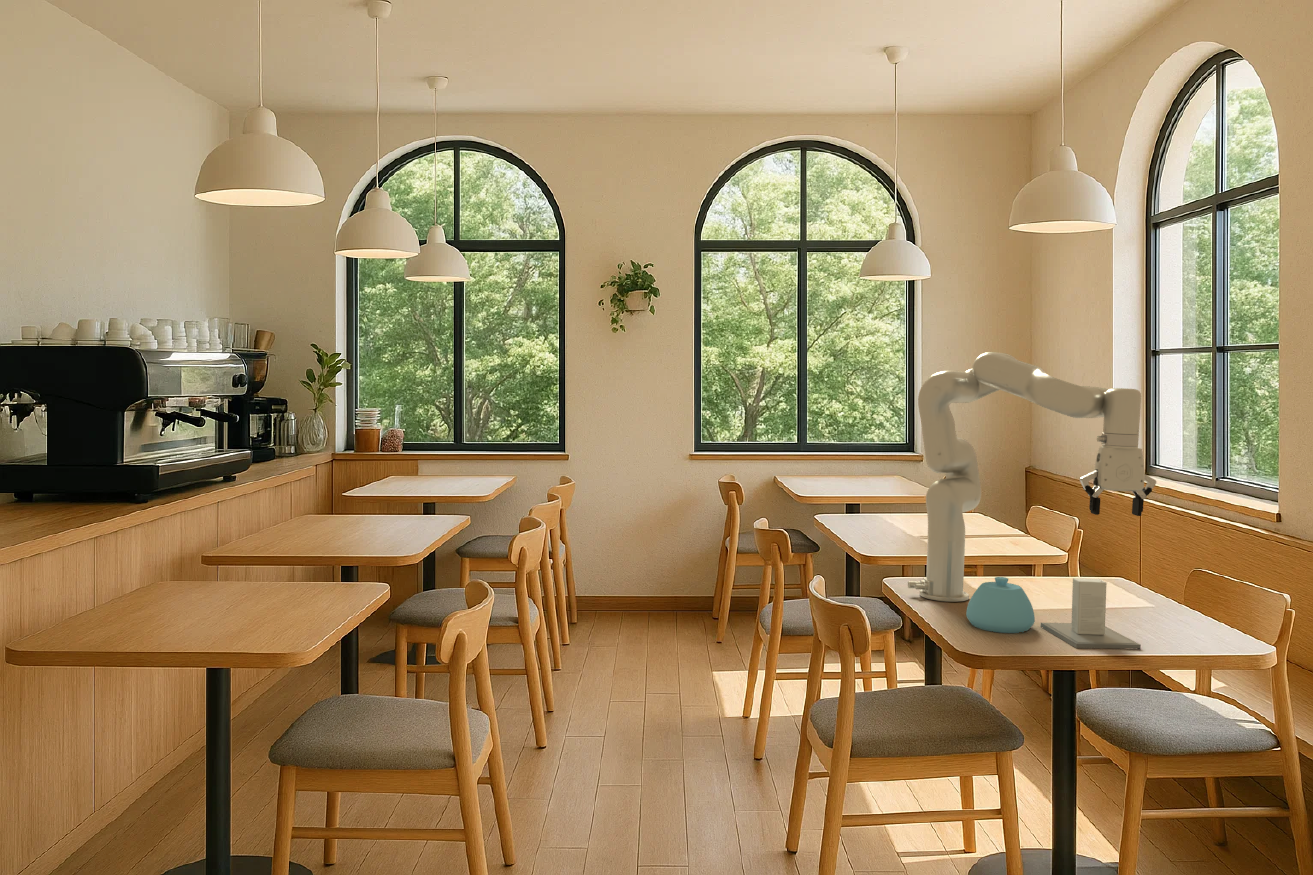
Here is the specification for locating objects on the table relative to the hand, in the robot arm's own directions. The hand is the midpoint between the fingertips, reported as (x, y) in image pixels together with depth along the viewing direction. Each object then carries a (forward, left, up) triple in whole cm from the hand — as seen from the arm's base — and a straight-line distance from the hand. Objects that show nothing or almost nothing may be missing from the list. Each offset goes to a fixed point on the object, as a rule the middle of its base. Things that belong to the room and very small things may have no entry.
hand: (1115, 514), depth 219 cm
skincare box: (-10, -9, -26) cm, 29 cm away
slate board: (-9, -9, -27) cm, 30 cm away
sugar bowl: (-26, 0, -27) cm, 38 cm away
